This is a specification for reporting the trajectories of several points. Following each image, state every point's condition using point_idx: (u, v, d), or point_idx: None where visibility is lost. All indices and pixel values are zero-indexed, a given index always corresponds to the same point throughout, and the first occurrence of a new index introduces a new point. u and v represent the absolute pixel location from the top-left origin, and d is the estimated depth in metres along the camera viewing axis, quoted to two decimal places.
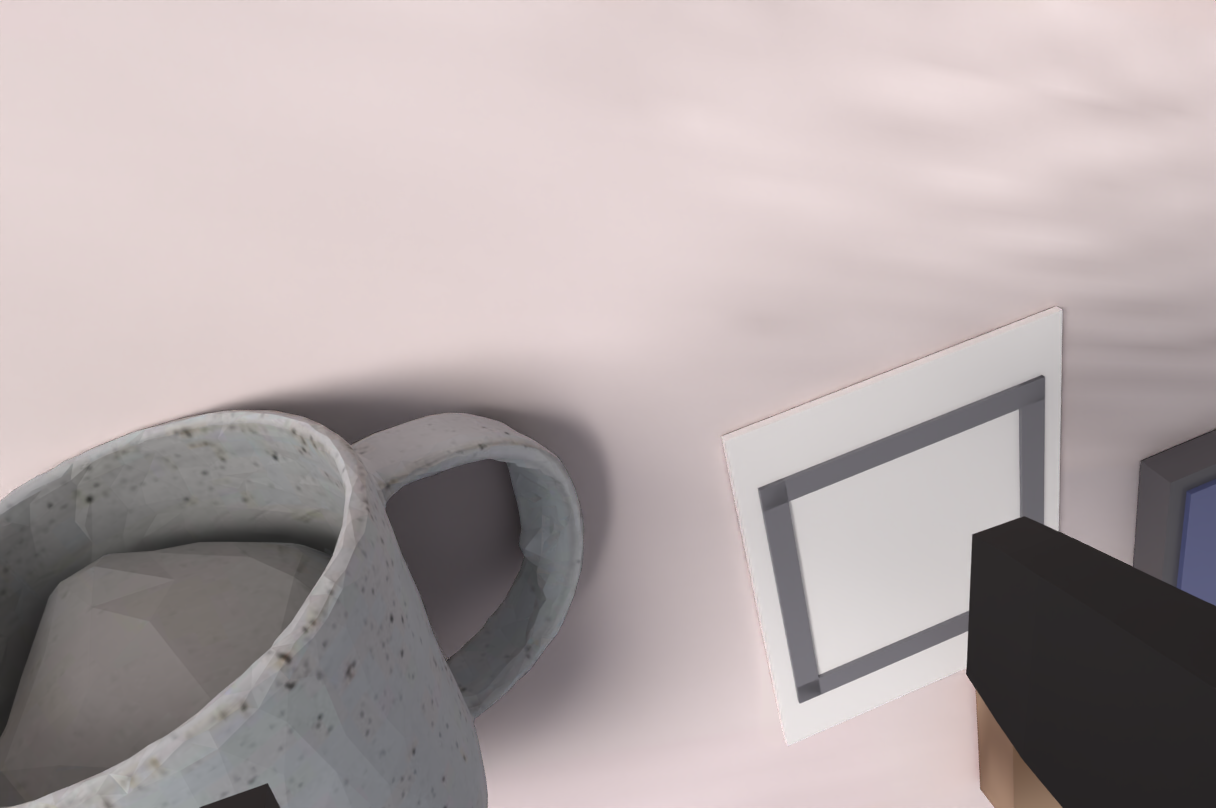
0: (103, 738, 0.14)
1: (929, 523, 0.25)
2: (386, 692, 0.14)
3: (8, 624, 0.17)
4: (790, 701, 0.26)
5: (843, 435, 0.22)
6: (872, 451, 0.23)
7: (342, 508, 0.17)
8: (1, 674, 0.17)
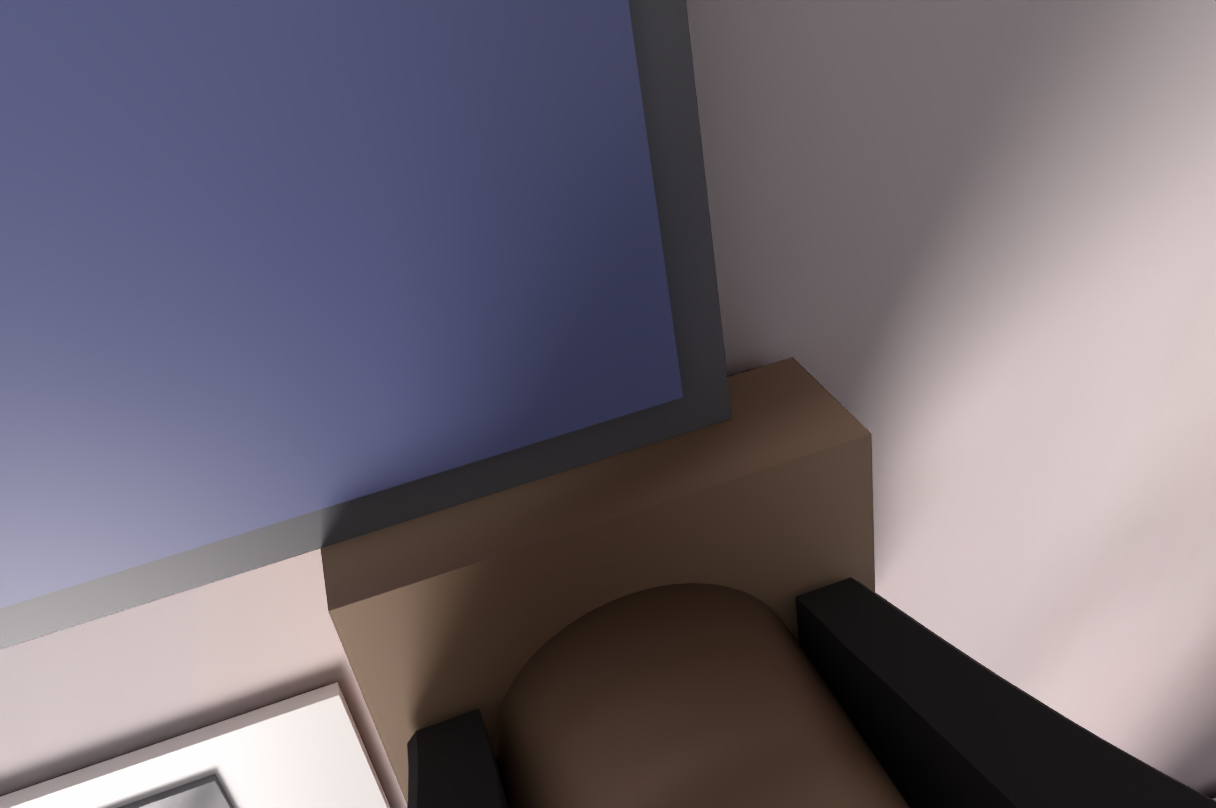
0: None
1: None
2: None
3: None
4: None
5: None
6: None
7: None
8: None
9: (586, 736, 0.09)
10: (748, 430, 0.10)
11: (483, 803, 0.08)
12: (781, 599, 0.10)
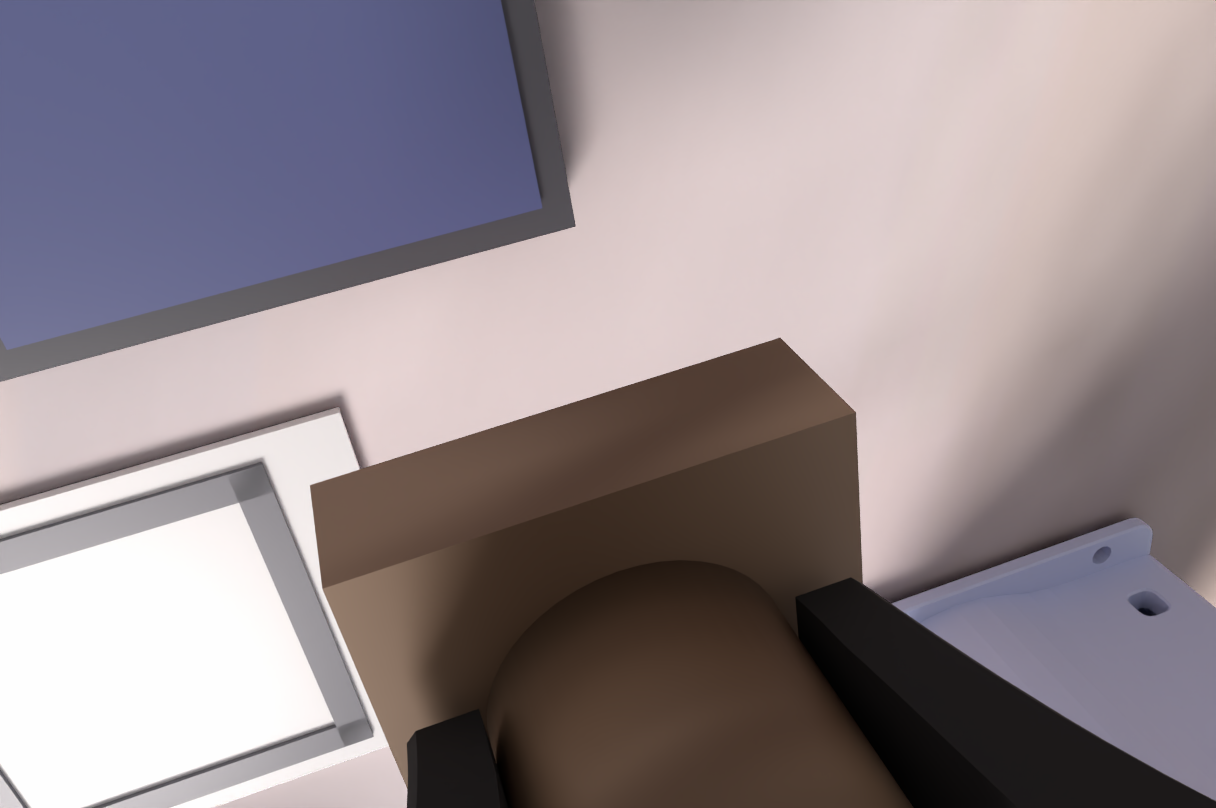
0: None
1: (93, 662, 0.19)
2: None
3: None
4: (370, 741, 0.22)
5: None
6: None
7: None
8: None
9: (575, 709, 0.09)
10: (735, 410, 0.10)
11: (483, 803, 0.08)
12: (769, 576, 0.10)
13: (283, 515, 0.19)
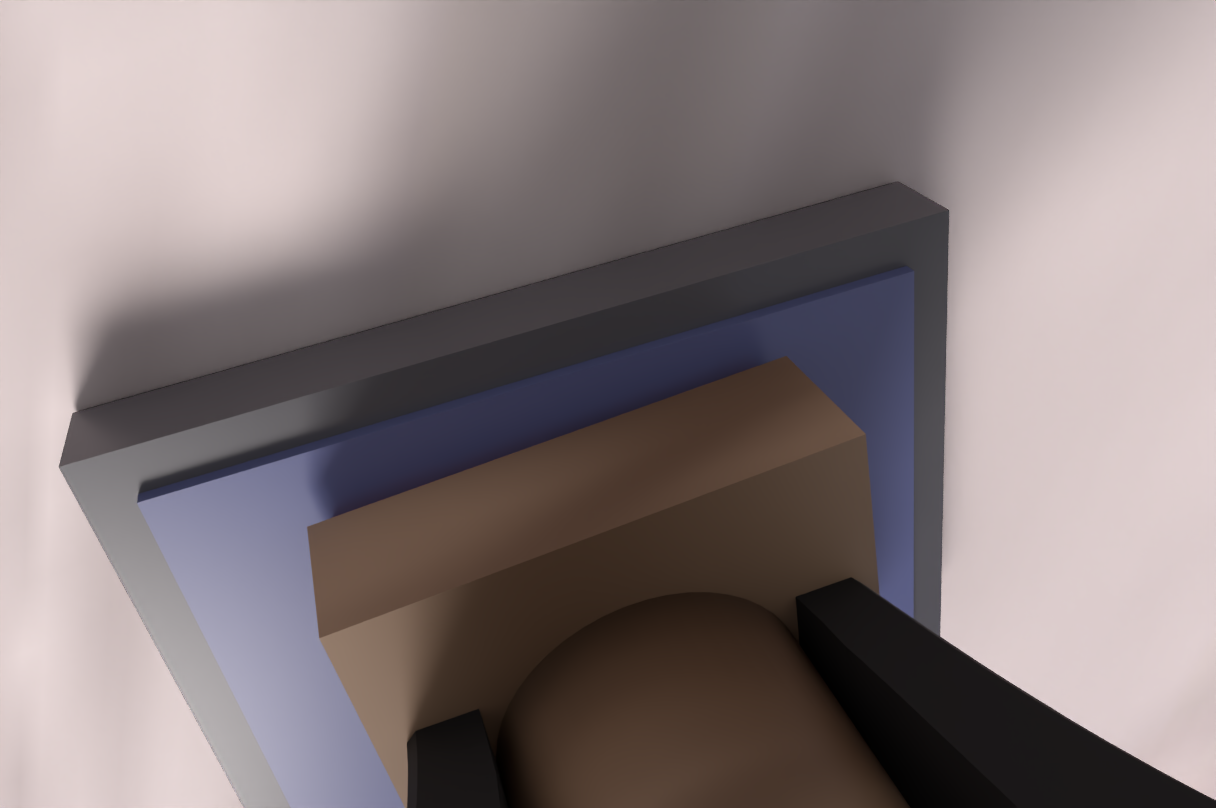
0: None
1: None
2: None
3: None
4: None
5: None
6: None
7: None
8: None
9: (583, 755, 0.08)
10: (741, 434, 0.10)
11: (483, 803, 0.08)
12: (783, 605, 0.10)
13: None
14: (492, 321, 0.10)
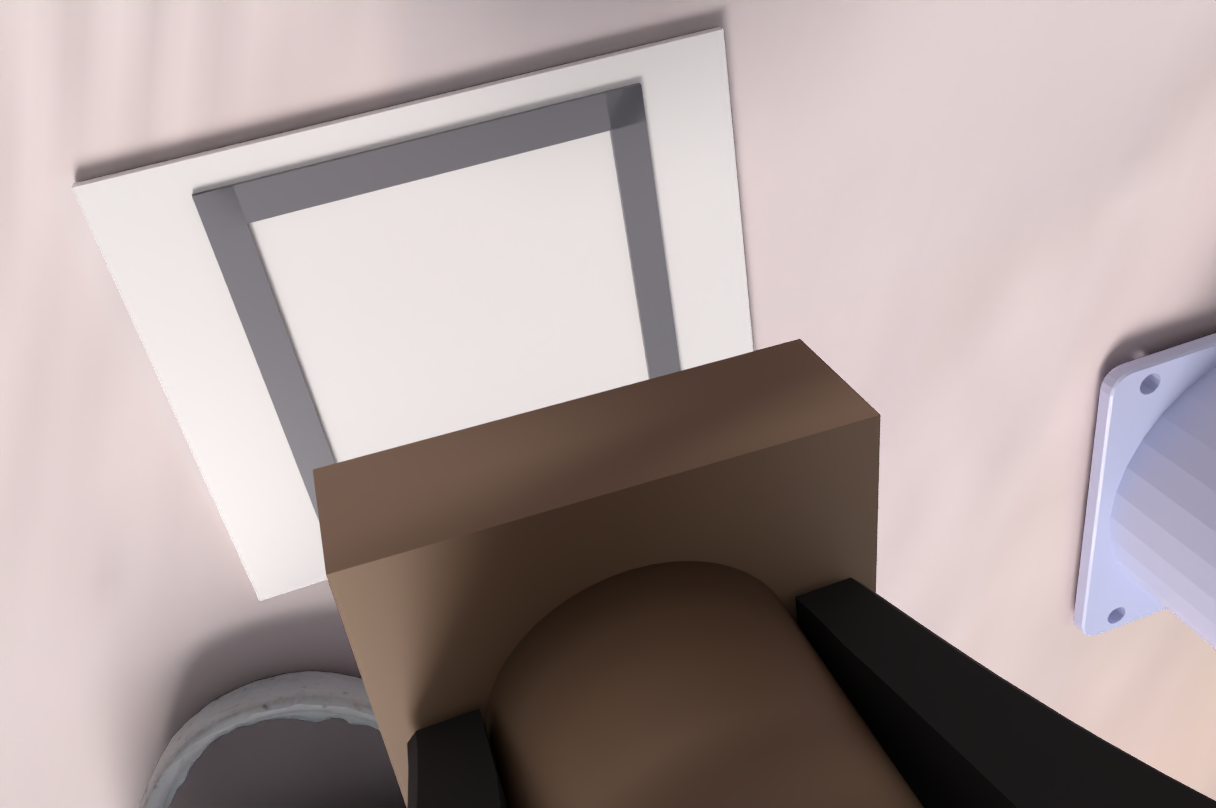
0: None
1: (437, 320, 0.17)
2: None
3: None
4: None
5: (268, 470, 0.18)
6: (296, 434, 0.18)
7: None
8: None
9: (585, 709, 0.08)
10: (755, 408, 0.10)
11: (483, 803, 0.08)
12: (783, 581, 0.10)
13: (650, 153, 0.17)
14: None
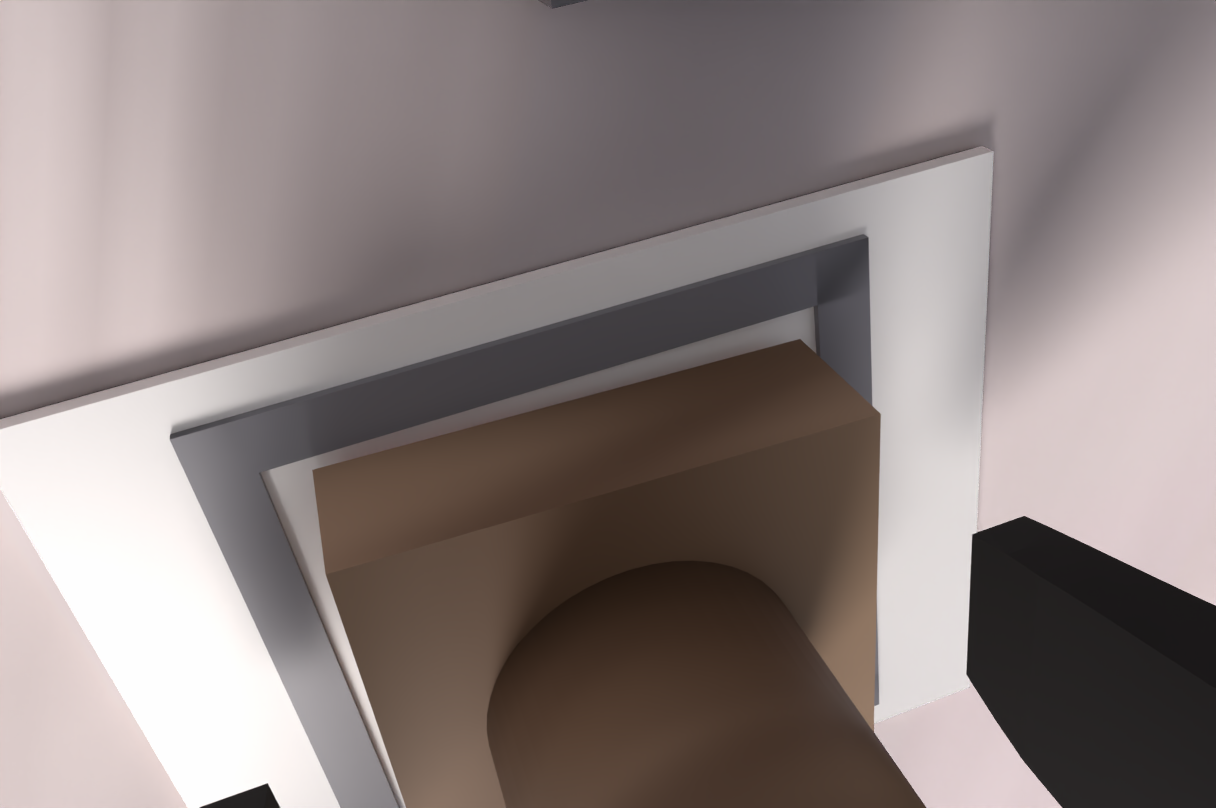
0: None
1: None
2: None
3: None
4: None
5: (288, 794, 0.12)
6: (330, 747, 0.12)
7: None
8: None
9: (586, 709, 0.08)
10: (756, 408, 0.10)
11: None
12: (783, 581, 0.10)
13: (868, 333, 0.11)
14: None
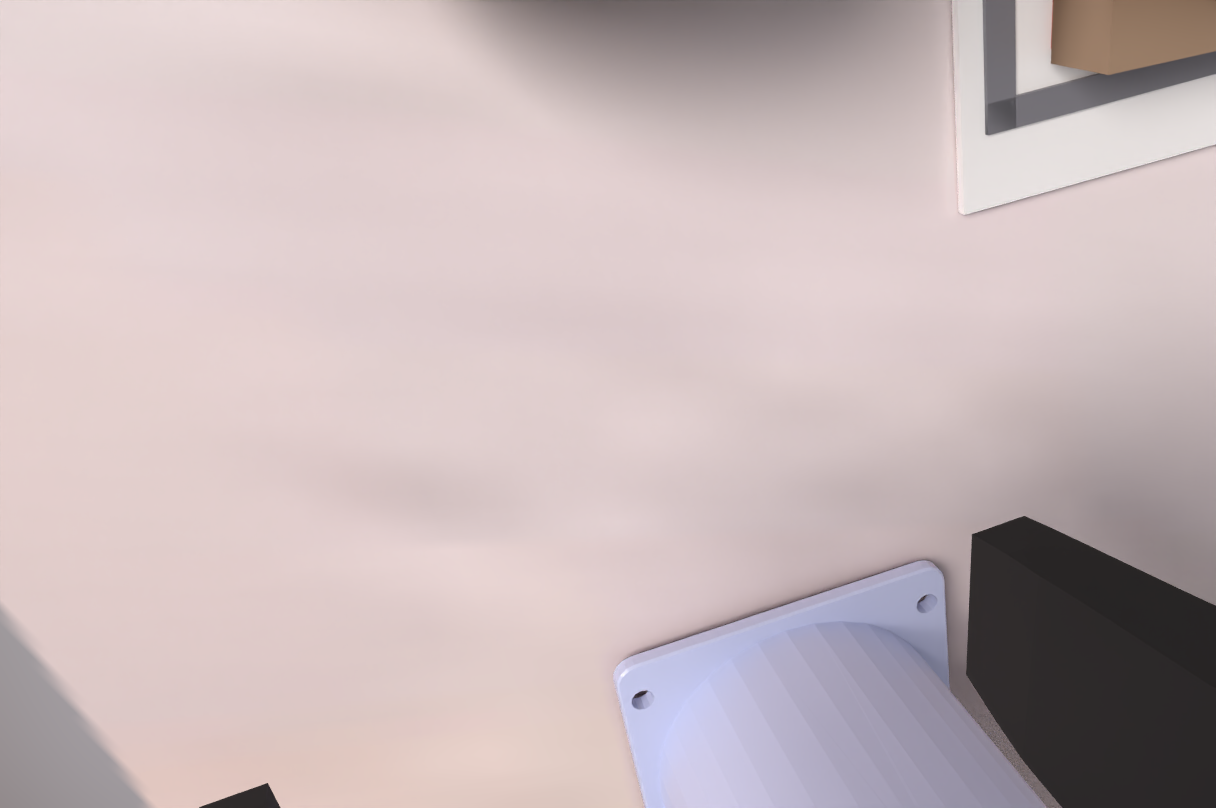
0: None
1: None
2: None
3: None
4: (975, 131, 0.20)
5: None
6: None
7: None
8: None
9: None
10: None
11: None
12: None
13: None
14: None
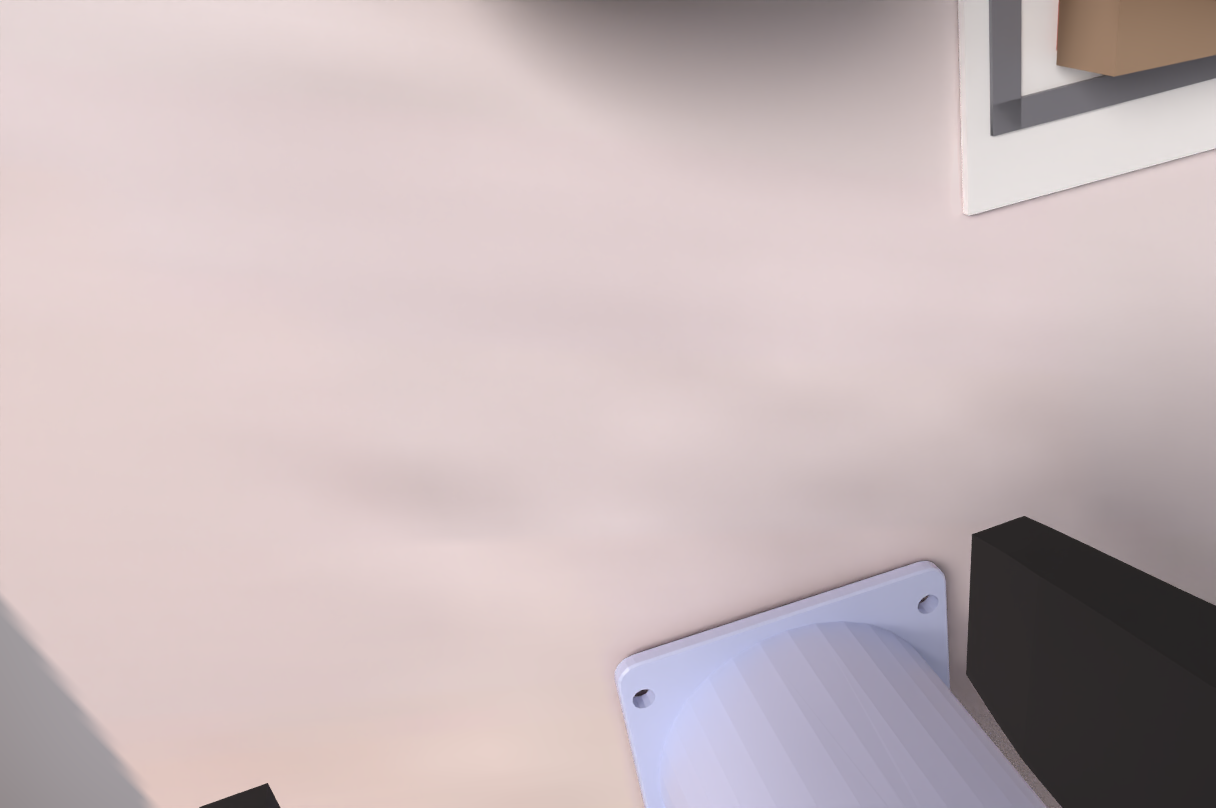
0: None
1: None
2: None
3: None
4: (981, 132, 0.20)
5: None
6: None
7: None
8: None
9: None
10: None
11: None
12: None
13: None
14: None
